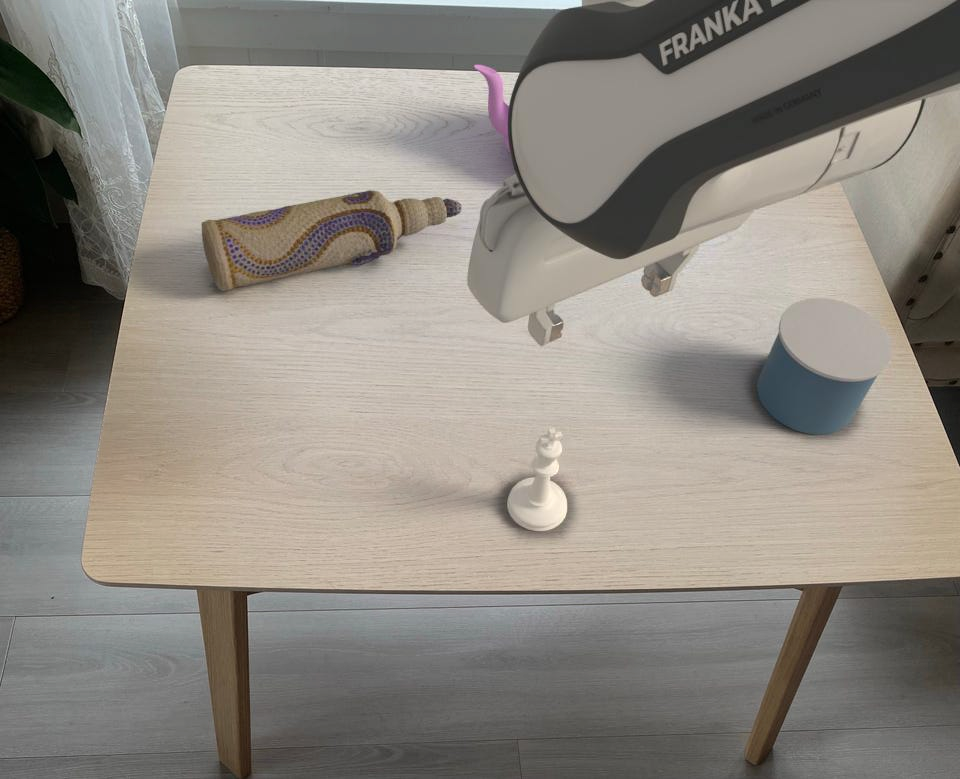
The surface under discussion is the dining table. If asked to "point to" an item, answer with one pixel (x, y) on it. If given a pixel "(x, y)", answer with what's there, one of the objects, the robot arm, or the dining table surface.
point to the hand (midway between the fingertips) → (601, 311)
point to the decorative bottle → (314, 235)
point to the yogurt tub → (822, 365)
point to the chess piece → (540, 489)
